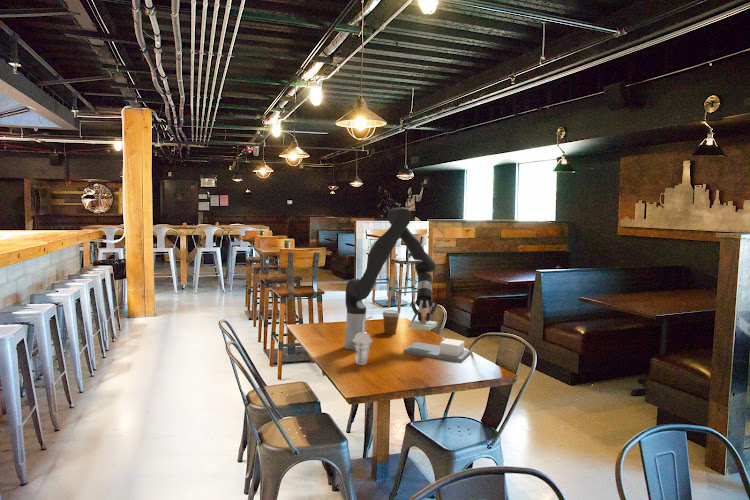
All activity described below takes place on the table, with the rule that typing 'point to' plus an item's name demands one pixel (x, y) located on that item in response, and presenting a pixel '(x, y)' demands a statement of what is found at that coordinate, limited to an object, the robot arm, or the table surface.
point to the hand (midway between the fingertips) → (423, 320)
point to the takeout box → (451, 347)
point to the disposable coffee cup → (390, 321)
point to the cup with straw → (362, 345)
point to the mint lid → (423, 322)
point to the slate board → (434, 352)
